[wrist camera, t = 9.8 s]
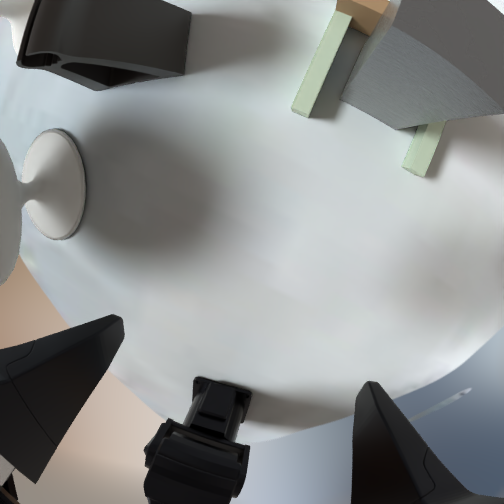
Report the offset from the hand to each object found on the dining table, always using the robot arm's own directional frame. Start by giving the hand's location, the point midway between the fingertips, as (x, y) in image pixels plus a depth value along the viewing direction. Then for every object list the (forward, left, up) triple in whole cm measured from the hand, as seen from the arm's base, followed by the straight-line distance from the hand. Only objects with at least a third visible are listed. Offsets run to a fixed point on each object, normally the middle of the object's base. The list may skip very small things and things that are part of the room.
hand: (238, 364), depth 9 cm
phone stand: (+14, +14, -13) cm, 24 cm away
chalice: (+1, +24, -13) cm, 27 cm away
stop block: (+13, -5, -13) cm, 19 cm away
